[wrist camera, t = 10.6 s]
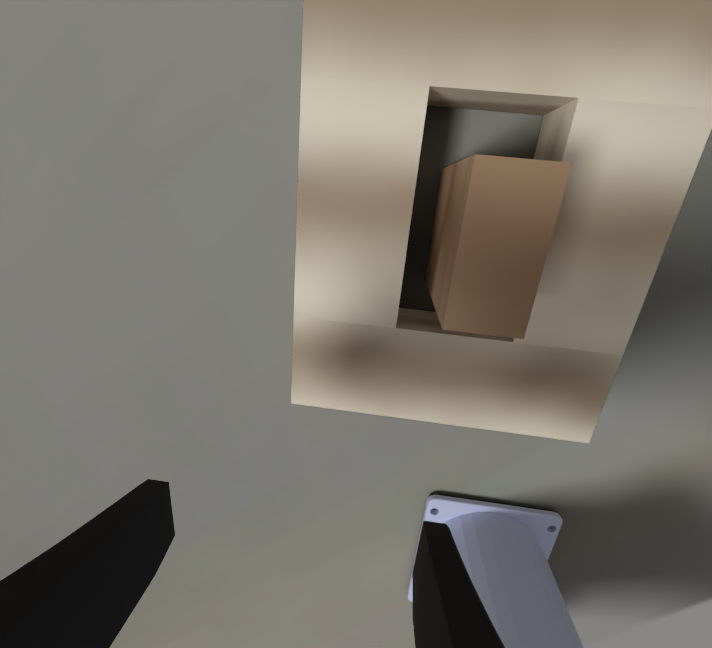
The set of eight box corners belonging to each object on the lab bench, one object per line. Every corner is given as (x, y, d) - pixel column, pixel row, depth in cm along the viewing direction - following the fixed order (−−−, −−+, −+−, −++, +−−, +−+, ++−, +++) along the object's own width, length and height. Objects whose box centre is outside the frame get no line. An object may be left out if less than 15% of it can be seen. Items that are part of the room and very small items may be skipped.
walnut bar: (475, 284, 18) (523, 339, 11) (424, 278, 18) (442, 329, 11) (499, 174, 16) (572, 163, 9) (442, 169, 16) (475, 154, 10)
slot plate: (560, 406, 19) (588, 443, 17) (305, 373, 20) (291, 403, 17) (704, -16, 13) (789, -72, 10) (324, -39, 14) (306, -96, 11)
